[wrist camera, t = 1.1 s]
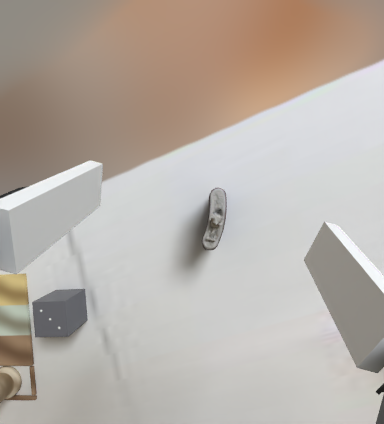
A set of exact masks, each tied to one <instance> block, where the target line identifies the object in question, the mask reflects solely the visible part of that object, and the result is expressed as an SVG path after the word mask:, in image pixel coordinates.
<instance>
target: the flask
mask: <svg viewBox="0 0 384 424" xmlns="http://www.w3.org/2000/svg"><path fill="white" fill-rule="evenodd" d="M209 201H210V211H209V217H208V224H207V227H206V231H205V233H204V236H203V239H202V244H203V247H204V248H205V250H214V249H215V248H216V247H217V246H218V243H219V241H220V238H221V235H222V232H223V229H224V225H225V219H226V207H227V205H226V193H225V191H224V190H223V189H221V188H215V189H213V190H212V191H211V193H210V196H209Z"/></svg>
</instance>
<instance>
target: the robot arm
mask: <svg viewBox="0 0 384 424" xmlns="http://www.w3.org/2000/svg"><path fill="white" fill-rule="evenodd" d="M102 168H103V164H101V163H98V162H94V161H88V162H85V163H83V164H81V165H79V166H76V167H74V168H71V169H69V170H67V171H64V172H62V173H60V174H57V175H55V176H53V177H50V178H48V179H45V180H43V181H41V182H38V183H36V184H34V185H31V186H28V187H22V188H18V189H15V190H13V191H10V192H8V194H7V193H6V194H3V195H1V196H0V270H2V271H6V272H10V273H13V274H18V273H19V272H20V271H22V270H23V269H24V268H25V267H26V266H28V265H29V264H30V263H31V262H32V261H34V260H35V259H36V258H37V257H39V256H40V255H41V254H42V253H43V252H45V251H46V250H47V249H48V248H50V247H51V246H52V245H53V244H54V243H56V242H57V241H58V240H59V239H61V238H62V237H63V236H64V235H65V234H67V233H68V232H69V231H70V230H71V229H73V228H74V227H75V226H76V225H78V224H79V223H80V222H81V221H82V220H84V219H85V218H86V217H87V216H89V215H90V214H91V213H92V212H93V211H95V210H96V209H97V208H98V207H99V206H100V201H101V185H102ZM304 261H305V263H306V265H307V267H308V269H309V271H310V273H311V275H312V277H313V279H314V281H315V284H316V286H317V288H318V290H319V292H320V294H321V296H322V298H323V300H324V302H325V304H326V306H327V308H328V310H329V312H330V314H331V316H332V318H333V320H334V322H335V324H336V326H337V328H338V330H339V332H340V334H341V336H342V338H343V340H344V342H345V344H346V346H347V348H348V350H349V352H350V354H351V356H352V358H353V360H354V362H355V364H356V366H357V368H360V369H364V370H368V371H371V372H375V373H378V372H379V371H380V370H381V369H382V368H383V367H384V276H383V274H382V273H381V272H380V271H379V270H378V269H377V268H376V267H375V266H374V265H373V263H372V262H371V261H370V260H369V259H368V258H367V257H366V256H365V255H364V254H363V252H362V251H361V250H360V249H359V248H358V247H357V246H356V245H355V244H354V243H353V241H352V240H351V239H350V238H349V237H348V236H347V235H346V234H345V233H344V232H343V231H342V229H341V228H340V227H339V226H338V225H335V224H331V223H327V222H324V224H323V225H322V227H321V229H320V231H319V233H318V235H317V237H316V238H315V240H314V242H313V244H312V246H311V248H310V249H309V251H308V253H307V255H306V257H305V259H304ZM381 392H384V384H383V385H382V386H381V387H380V388H379V389H378V390H377V391H376V393H378V394H380V393H381ZM376 424H384V396H383V399H382V403H381V407H380V410H379V414H378V418H377V421H376Z"/></svg>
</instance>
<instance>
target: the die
mask: <svg viewBox="0 0 384 424" xmlns="http://www.w3.org/2000/svg"><path fill="white" fill-rule="evenodd" d="M32 304H33V316H34V328H35V337H68V336H69V335H71V334H72V333H73V332H74V331H75V330H76V329H78V328H79V327H80V326H81V325H82V324H83V323H84V322H86V321H87V309H86V296H85V289H71V290H55V291H53V292H51V293H49V294H47V295H45V296H43V297H41V298H40V299H38V300H36V301H34V302H32Z"/></svg>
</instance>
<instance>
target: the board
mask: <svg viewBox="0 0 384 424" xmlns="http://www.w3.org/2000/svg"><path fill="white" fill-rule="evenodd" d="M33 364H34V361H33V349H32V337H31V326H30V314H29V302H28V291H27V279H26V274H9V275H0V366H31V367H30V378H31V389H32V395H36V384H35V372H34V366H32V365H33ZM36 399H37V396H27V395H14V396H12V397H11V398H9V399H4V400H36Z"/></svg>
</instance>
